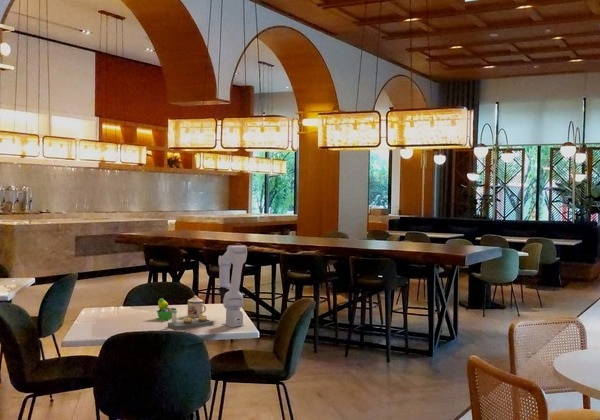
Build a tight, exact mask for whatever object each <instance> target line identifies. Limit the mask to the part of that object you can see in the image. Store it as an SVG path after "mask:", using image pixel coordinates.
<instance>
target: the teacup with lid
mask: <svg viewBox="0 0 600 420" xmlns="http://www.w3.org/2000/svg"><path fill="white" fill-rule="evenodd" d="M205 312H207V306H206V305H205V304H204V299H201V298H199V297H198V296H197V295H193V297H192V298H190V299H188V300H187V316H186V317H191V318H192V319H194V318H196V319H198V316H204V313H205Z"/></svg>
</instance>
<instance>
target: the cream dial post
mask: <svg viewBox="0 0 600 420" xmlns="http://www.w3.org/2000/svg"><path fill="white" fill-rule="evenodd" d="M177 313H178V310H177V309H176V310H172V319H171V322H172V324H176V322H177V320H178V319H177V318H178V316H177Z"/></svg>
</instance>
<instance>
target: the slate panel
mask: <svg viewBox="0 0 600 420" xmlns="http://www.w3.org/2000/svg"><path fill="white" fill-rule="evenodd" d="M209 326H214V321H213V320H211V319H207V320H206V321H204V322H200V321H198V318H196V319H194V318H193V319H192V323H189V324H186V323H184V320H180V321H176V324H172V321H171V322H169V321H168V322H167V327H168V328H171V329H174V330H176V329H177V331H179V330H187V329H193V328H201V327H209Z"/></svg>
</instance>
